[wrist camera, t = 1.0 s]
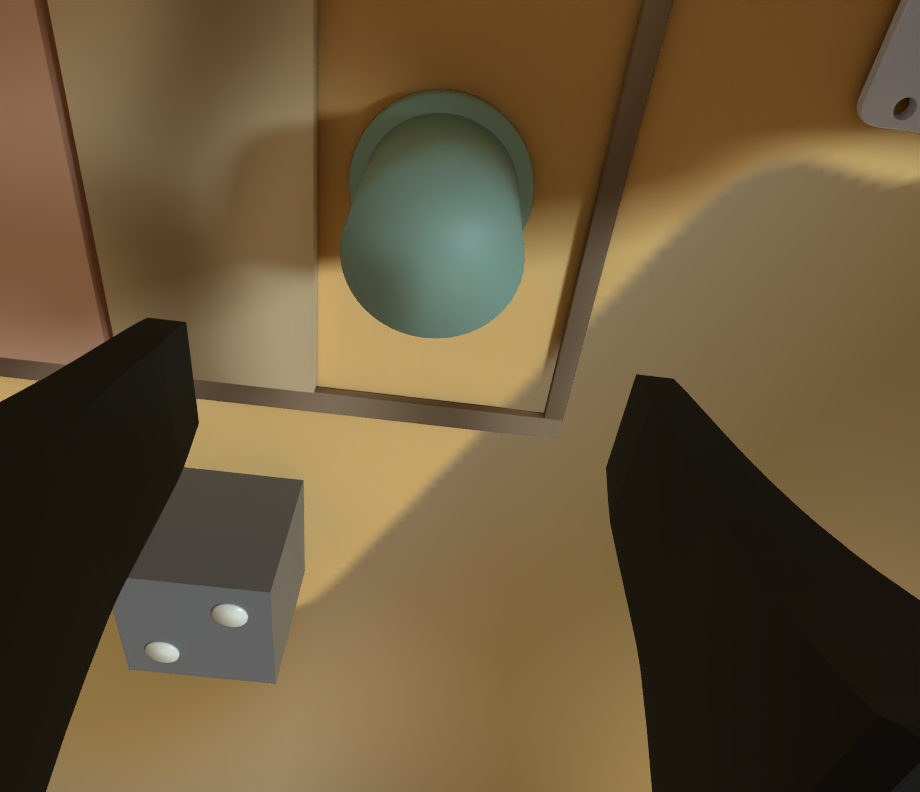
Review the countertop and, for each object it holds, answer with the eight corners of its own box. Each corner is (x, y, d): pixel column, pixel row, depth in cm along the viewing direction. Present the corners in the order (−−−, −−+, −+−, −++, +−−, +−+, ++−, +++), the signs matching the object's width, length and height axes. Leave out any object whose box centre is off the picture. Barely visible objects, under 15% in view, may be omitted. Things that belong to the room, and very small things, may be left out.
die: (303, 479, 26) (269, 594, 22) (305, 569, 29) (275, 685, 25) (163, 463, 26) (102, 577, 22) (178, 555, 29) (128, 671, 25)
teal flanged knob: (548, 102, 18) (563, 166, 15) (516, 274, 21) (522, 362, 18) (355, 76, 18) (321, 135, 14) (349, 254, 21) (321, 339, 17)
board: (713, -167, 15) (720, -167, 14) (557, 433, 24) (558, 445, 24) (-367, -331, 14) (-398, -338, 13) (-89, 360, 24) (-101, 371, 23)
